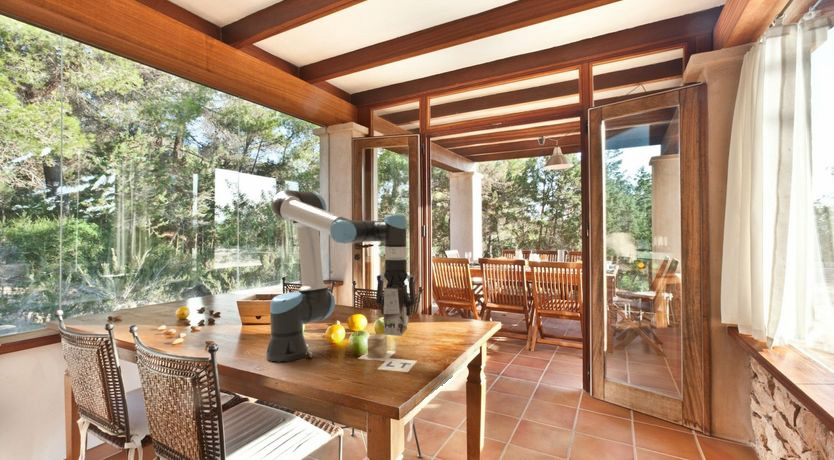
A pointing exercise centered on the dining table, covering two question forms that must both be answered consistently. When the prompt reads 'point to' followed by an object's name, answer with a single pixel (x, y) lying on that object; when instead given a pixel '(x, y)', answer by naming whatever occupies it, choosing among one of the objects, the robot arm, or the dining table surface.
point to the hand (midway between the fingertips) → (396, 324)
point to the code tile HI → (387, 356)
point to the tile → (397, 365)
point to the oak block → (377, 345)
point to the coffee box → (394, 310)
